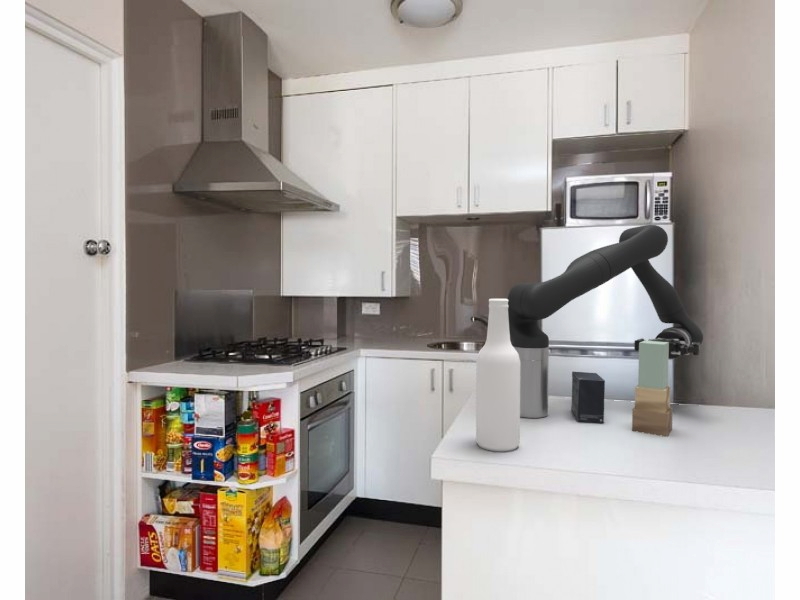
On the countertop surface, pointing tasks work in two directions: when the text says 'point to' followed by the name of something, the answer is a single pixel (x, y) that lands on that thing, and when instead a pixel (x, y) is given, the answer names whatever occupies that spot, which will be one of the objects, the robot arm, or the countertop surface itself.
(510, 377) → the alcohol
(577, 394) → the small box
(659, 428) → the walnut block
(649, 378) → the sage pillar
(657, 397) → the oak block
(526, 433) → the countertop surface
